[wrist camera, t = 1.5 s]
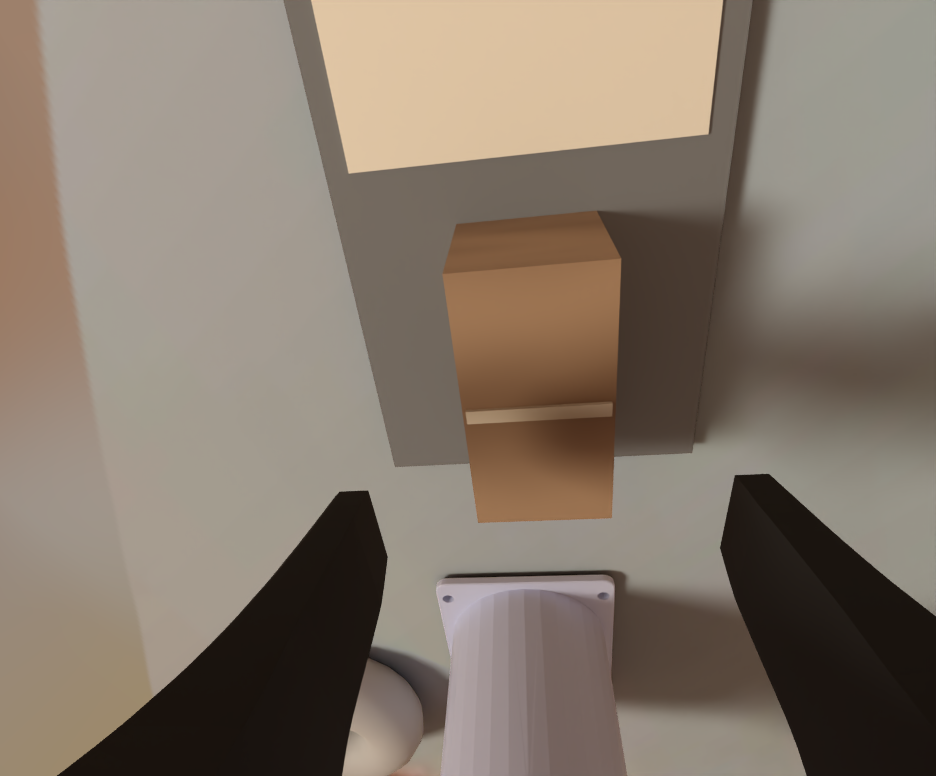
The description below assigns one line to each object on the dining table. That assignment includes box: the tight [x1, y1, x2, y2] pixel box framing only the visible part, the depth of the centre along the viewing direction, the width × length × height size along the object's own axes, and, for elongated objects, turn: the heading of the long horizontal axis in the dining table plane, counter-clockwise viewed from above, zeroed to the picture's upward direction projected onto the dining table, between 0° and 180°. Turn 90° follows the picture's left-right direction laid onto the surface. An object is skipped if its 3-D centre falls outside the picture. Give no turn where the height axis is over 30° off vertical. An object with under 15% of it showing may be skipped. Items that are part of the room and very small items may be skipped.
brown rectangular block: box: [442, 211, 621, 523], centre depth 16 cm, size 8×4×4 cm, turn 7°
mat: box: [284, 0, 753, 467], centre depth 16 cm, size 18×11×1 cm, turn 6°
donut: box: [342, 658, 424, 776], centre depth 30 cm, size 10×4×10 cm
